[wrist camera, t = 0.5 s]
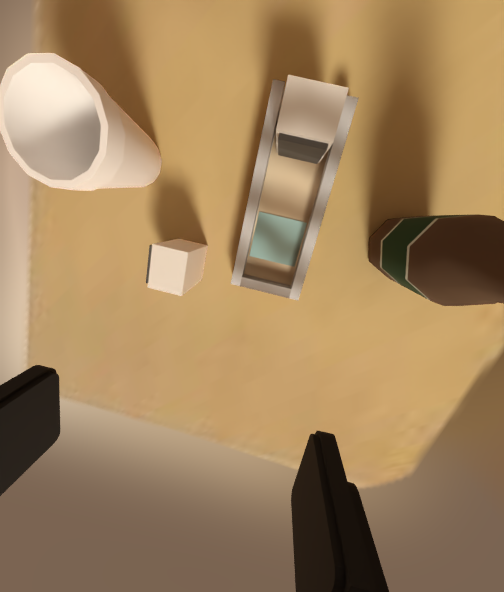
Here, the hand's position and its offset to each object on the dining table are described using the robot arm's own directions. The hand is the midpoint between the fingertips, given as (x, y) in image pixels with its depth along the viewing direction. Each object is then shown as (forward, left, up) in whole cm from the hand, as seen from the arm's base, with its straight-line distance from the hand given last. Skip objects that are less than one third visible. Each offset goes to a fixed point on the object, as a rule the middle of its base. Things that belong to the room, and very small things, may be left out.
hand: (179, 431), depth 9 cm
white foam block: (0, -9, -28) cm, 29 cm away
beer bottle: (-8, +17, -28) cm, 34 cm away
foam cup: (-11, -18, -28) cm, 35 cm away
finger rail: (-10, +2, -28) cm, 29 cm away
